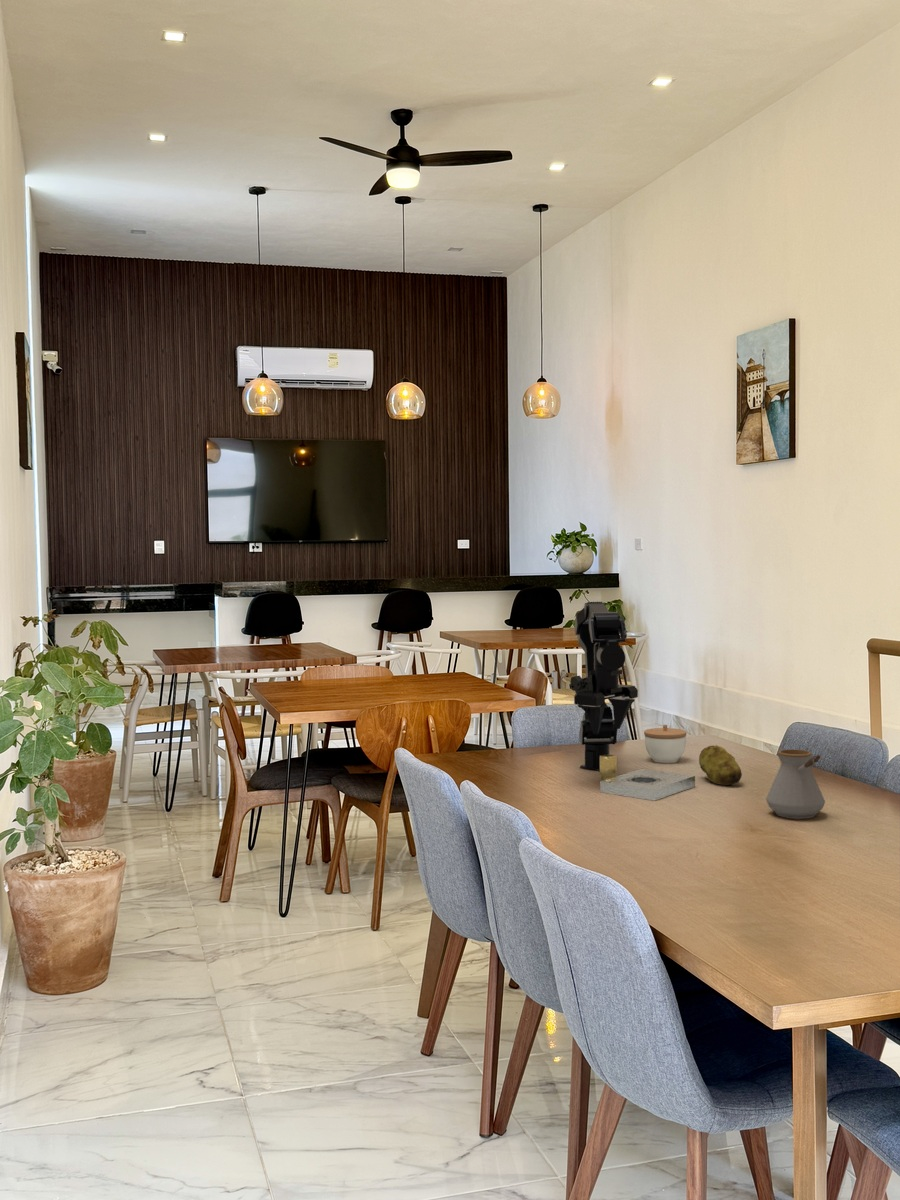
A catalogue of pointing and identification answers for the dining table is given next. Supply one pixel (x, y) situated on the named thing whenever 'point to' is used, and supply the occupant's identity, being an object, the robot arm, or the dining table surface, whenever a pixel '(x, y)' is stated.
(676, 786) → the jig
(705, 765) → the potato
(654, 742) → the lidded jar
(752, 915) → the dining table surface
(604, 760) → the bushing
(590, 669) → the robot arm
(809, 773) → the coffee pot
